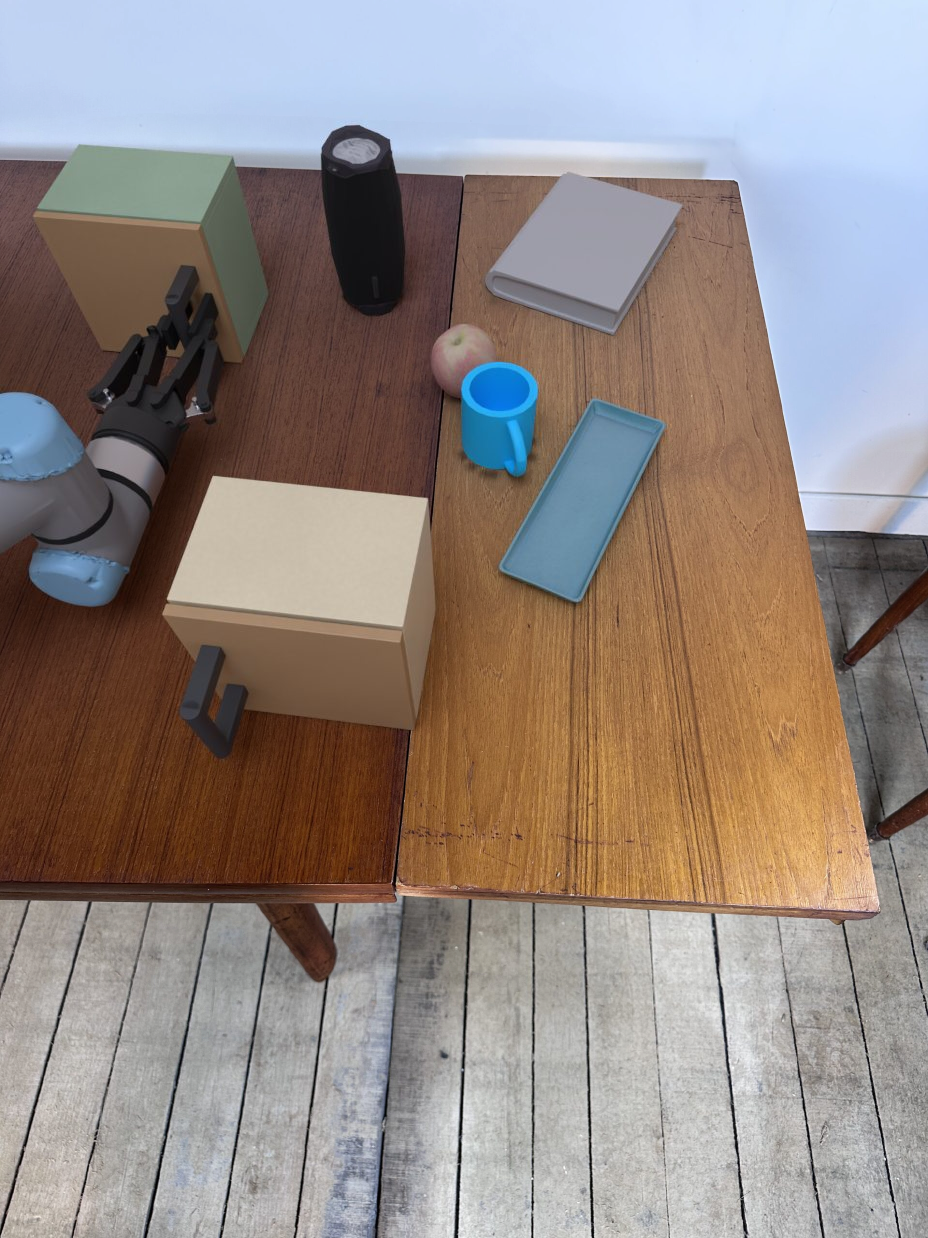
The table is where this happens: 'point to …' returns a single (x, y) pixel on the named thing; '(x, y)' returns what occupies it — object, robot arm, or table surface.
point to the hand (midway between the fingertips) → (199, 302)
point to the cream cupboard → (314, 559)
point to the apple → (460, 356)
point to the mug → (498, 416)
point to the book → (585, 252)
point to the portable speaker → (364, 217)
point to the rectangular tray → (582, 500)
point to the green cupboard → (173, 210)
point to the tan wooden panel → (137, 276)
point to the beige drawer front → (288, 671)
